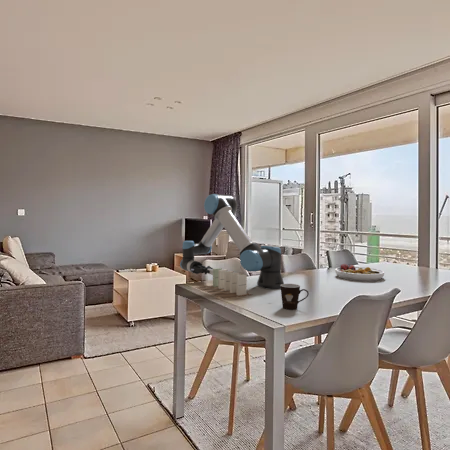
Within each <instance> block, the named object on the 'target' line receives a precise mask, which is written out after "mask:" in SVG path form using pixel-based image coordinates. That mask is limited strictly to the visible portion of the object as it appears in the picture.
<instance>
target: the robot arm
mask: <svg viewBox="0 0 450 450" xmlns="http://www.w3.org/2000/svg"><path fill="white" fill-rule="evenodd" d="M203 208H204V211H205V213H207V214H209V215H212V217H214V219H213V221H212V223H211V224H210V225H209V227H208V229H207V231H206V232H205V234H204V235H203V237H202V239H201V240H200V241H199V242H197V243H195V241H194V240H184V241H182V248H181V249H182V259H181V260H180V263H179V266H180V268H181V269H182V270H184V271H185V272H189V273H192V274H196V275H199V274H204V275H207V274H208V275H212V276H213V269H214V268H213V267H211V266H210V265H207V266H206V265H204V264H203V263H202V262H200V261H198V260H195V256H197V255H207V254H209V253H211V252H212V250H213V246H212V245H213V244H214V242H215V241H216V239H217V238H218V236H219V235H220V233H221V232H222V230H223V229H224V230H225V231H226V232H227V234H228V235H229V237H230V238H231V240H232V241H233V243H234V245H235V246H236V248H238V250H239V254H238V255H239V262H240V263H239V264H240V265H241V267H242V268H243V269H244V270H245V271H246V272H250V273H251V272H252V273H254V272H259V271H260V273H259V276H258V279H257V283H256V284H257V287H260V288H263V289H266V290H281V286H280V285H281V284H285V283H284V279H283V276H282V249H281V248H280V247H279V246H269V245H261V246H259V244H258V243H257V242H254V241H252V239H251V238H250V236H249V234H248V233H247V232H246V230H245V229H244V228H243V226H242V225H241V223H240V222H239V221H238V219H237V218H236V217H235V214H236V213H237V209H238V203H237V200H236V198H235V197H234V196H232V195H231V194H220V193H219V194H218V193H212V194H209V195H207V196H206V198H205V200H204V203H203Z"/></svg>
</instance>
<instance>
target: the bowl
mask: <svg viewBox="0 0 450 450" xmlns="http://www.w3.org/2000/svg"><path fill="white" fill-rule="evenodd" d="M335 275H336V276H337V277H338V278H340V279H343V280H349V281H356V282H357V281H359V282H374V281H380V280H381V279H382V278H384V276H385V271H383V270H381V269H377V268H372V267H369V266H367V267H361V266H355V265H354V264H347V263H343V264H341V265H340V266H339V267H337V268H335Z"/></svg>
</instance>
